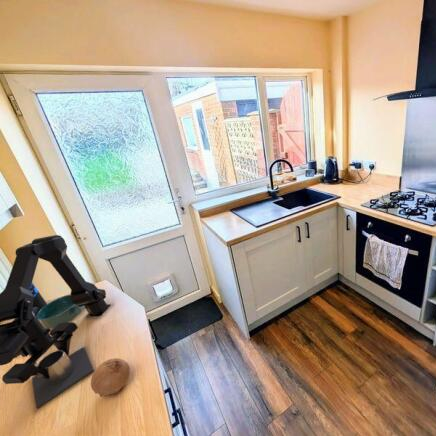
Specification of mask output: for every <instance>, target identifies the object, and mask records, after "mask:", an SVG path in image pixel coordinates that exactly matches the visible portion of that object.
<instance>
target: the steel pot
mask: <svg viewBox="0 0 436 436" xmlns="http://www.w3.org/2000/svg"><path fill="white" fill-rule="evenodd" d="M37 365H43V366H44V367H45V369H46V371H47V372H48V374H49V377H50V378H49V379H46V380H47V381H48V382H49V383H50V384H56V383H58V382H61V381H62V380H64V379H65V378H67V377H68V376H69V375H70V374H71V373H72V372H73V370H74V364H73V363H72V361H71V360H70V359H69V357H68V356H67V355H66V353H65V352H64V351H63V350H58V349H57V350H54V351H52V352H49V353H48V354H46V355H44V356H43V358H41V359H40V360H39V361H38V362H37Z"/></svg>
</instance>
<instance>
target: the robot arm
mask: <svg viewBox="0 0 436 436" xmlns="http://www.w3.org/2000/svg"><path fill="white" fill-rule="evenodd" d="M67 249H68V245H67V243H66V240H65V239H64V237H62V235H59V234H54V235H53V234H52V235H47V236H43V237H38V238H34V239H33V240H32V241H31V242H30V243H27V244H23V245H22V246H20V247H17V248H16V249H15V259H14V262H13V264H12V267H11V270H10V273H9V276H8V279H7V281H6V285H5V288H3V290H2V291H1V292H0V366H4V365H8V364H10V363H11V362H13V360H14V359H17V358H18V357H20V356H21V357H23V358H26V357H28V356H29V358H27V360H26V361H25V362H24V363H23V362H22V363H15V364H14V365H13V366H12V367H11V368H9V370H7V371H6V372H5V373H4V374H3V375H2V377H1V381H2V382H3V383H4V384H5V385H12V384H13V385H14V384H15V385H16V384H24V383H26V382H27V381H29V379H30V378H32V377H35V376H37V377H40V378H43V379H49V378H50V377H49V374H48V372H47V371H46V369H45V367H44V366H43V365H38V362H39V361H40V360H41V359H42V357H44V356H45V354H46V353H47V352H48V351H49V350H50V349H51V348H52V347H53V346H54V347H55V348H56V349H57V350H63V351H64V352H65V353H66V355H67V356H68V357H69V356H70V347H71V342H72V337H73V336H74V333H75V332H76V331H77V330H78V328H79V326H78V325H77V323H76V322H73V321H69V322H68V323H59V324H58V325H57V326H56V327H55V328H44V327H43V325H42V324H41V323H40V321H39V320H38V319H37V317H36V316H35V313H36V311H37V310H38V308H33V300H34V296H33V295H32V293H31V292H30V288H31V284H32V283H33V280H34V277H35V273H36V270H37V267H38V263H39V259H40V260H44V261H46V262H49V263H50V264H51V265H52V267H53V269H54V270H55V271H56V272H57V273H58V275H59V276H60V278H61V279H62V280H63V281H64V282H65V283H66V285H67V286H68V288H69V289H70V294H69V295H70V296H69V299H70V300H71V301H72V303H73V304H75V305H77V306H79V307H81V306H84V309H85V310H86V312H87V313H88V314H87V315H86V318H94V317H101V316H103V315H104V313H106V311H107V310H108V309H109V308H110V307H111V304H107V302H106V301H105V299H106V298H107V296H106V295H107V293H106V290H105V289H101V288H98V287H97V286H96V285H95V283H93V282H89V281H86V279H85V278H84V277H83V276H82V274H81V273H80V271H79V269H77V267H76V266H75V264H74V263H73V261H72V260H71V259H70V257H69V256H68V254H67ZM11 320H12V321H11ZM7 321H10V322H7ZM3 322H5V323H3ZM1 323H2V324H1Z"/></svg>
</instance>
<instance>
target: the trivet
mask: <svg viewBox="0 0 436 436" xmlns="http://www.w3.org/2000/svg"><path fill="white" fill-rule="evenodd" d="M69 359H70V360H71V361H72V363H73V364H74V370H73V372H72V373H71V374H70V375H69V376H68V377H67V378H65V379H64V380H62V381H61V382H58V383H56V384H50V383H49V382H48V381H47V380H46V379H43V378H40V377H37V376H32V377H31V381H32V388H33V389H32V390H33V396H34V402H35V408H36V409H37V410H39V409H40V408H42V407H43V406H45V405H46V404H47V403H49V402H51V401H53V399H55V398H57V397H58V396H59V395H62V393H64V392H65V391H67V390H68V389H70V388H72V387H73V386H75V385H76V384H77V383H79V382H80V381H82V380H84V379H85V378H86V377H88V376H89V375H91V374H93V373H94V371H95V370H94V367H93V365H92V363H91V360H90V357H89V354H88V353H87V350H86V348H85V347H84V346H83V347H81V348H80V349H78V350H76V351H75V352H73V353H71V354H69Z"/></svg>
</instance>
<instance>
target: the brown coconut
mask: <svg viewBox="0 0 436 436" xmlns="http://www.w3.org/2000/svg"><path fill="white" fill-rule="evenodd" d="M130 374H131V367H130V364H129V363H128V362H127V361H126V360H125V359H121V358H117V357H116V358H110V359H107V360H105V361H103V362H102V363H100V364H99V365H98V366H97V367H96V368H95V370H94V372H92V375H91V379H90V387H91V390H92V391H93V392H94V393H95V394H98V395H99V396H100V397H103V396H107V395H109V396H110V395H113V394H117V393H119V392H120V391H121V389H122V388H124V386H125V385H126V383H127V382H128V380H129V377H130Z"/></svg>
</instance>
